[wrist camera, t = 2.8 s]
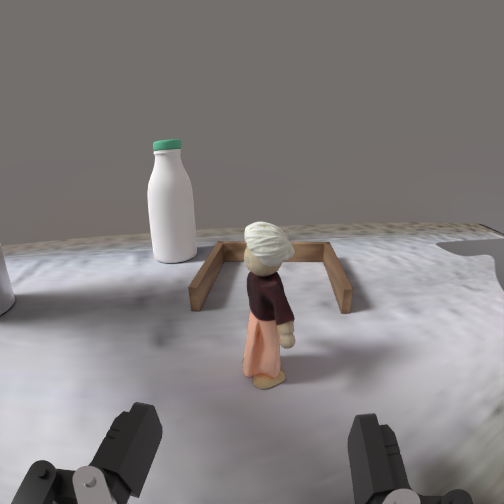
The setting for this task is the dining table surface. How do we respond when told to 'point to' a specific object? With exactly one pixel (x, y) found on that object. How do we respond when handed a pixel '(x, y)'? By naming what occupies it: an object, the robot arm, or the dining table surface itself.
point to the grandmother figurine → (266, 304)
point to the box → (302, 254)
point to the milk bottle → (171, 205)
